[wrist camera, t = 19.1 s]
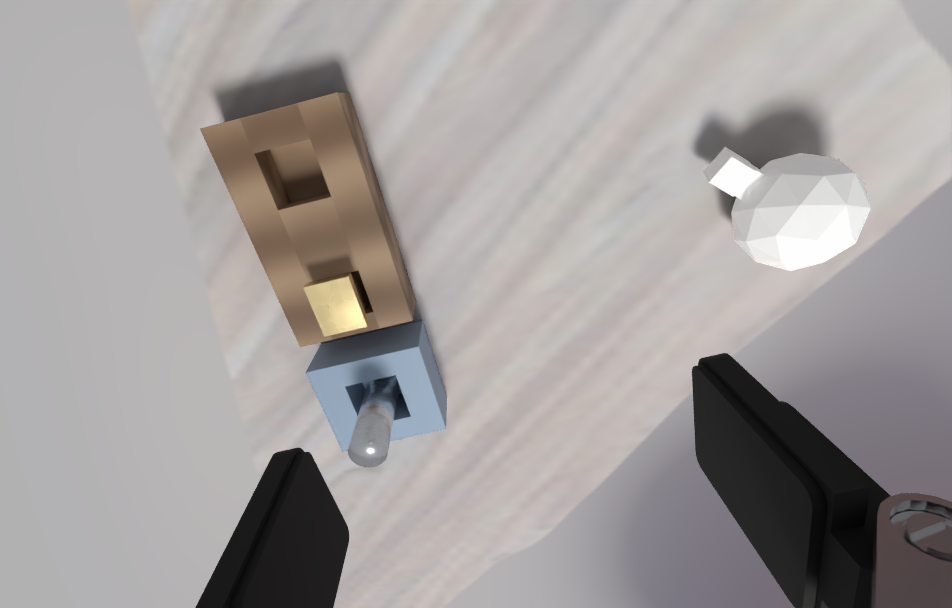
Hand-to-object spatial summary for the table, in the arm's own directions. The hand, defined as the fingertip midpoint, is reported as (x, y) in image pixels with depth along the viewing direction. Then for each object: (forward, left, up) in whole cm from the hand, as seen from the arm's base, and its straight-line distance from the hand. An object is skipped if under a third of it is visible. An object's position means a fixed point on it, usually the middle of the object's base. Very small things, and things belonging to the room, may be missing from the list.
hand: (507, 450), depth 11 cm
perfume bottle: (+5, +24, -31) cm, 39 cm away
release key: (+4, -12, -29) cm, 32 cm away
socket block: (-1, -12, -30) cm, 33 cm away
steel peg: (+15, -12, -29) cm, 35 cm away
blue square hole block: (+15, -12, -30) cm, 36 cm away
